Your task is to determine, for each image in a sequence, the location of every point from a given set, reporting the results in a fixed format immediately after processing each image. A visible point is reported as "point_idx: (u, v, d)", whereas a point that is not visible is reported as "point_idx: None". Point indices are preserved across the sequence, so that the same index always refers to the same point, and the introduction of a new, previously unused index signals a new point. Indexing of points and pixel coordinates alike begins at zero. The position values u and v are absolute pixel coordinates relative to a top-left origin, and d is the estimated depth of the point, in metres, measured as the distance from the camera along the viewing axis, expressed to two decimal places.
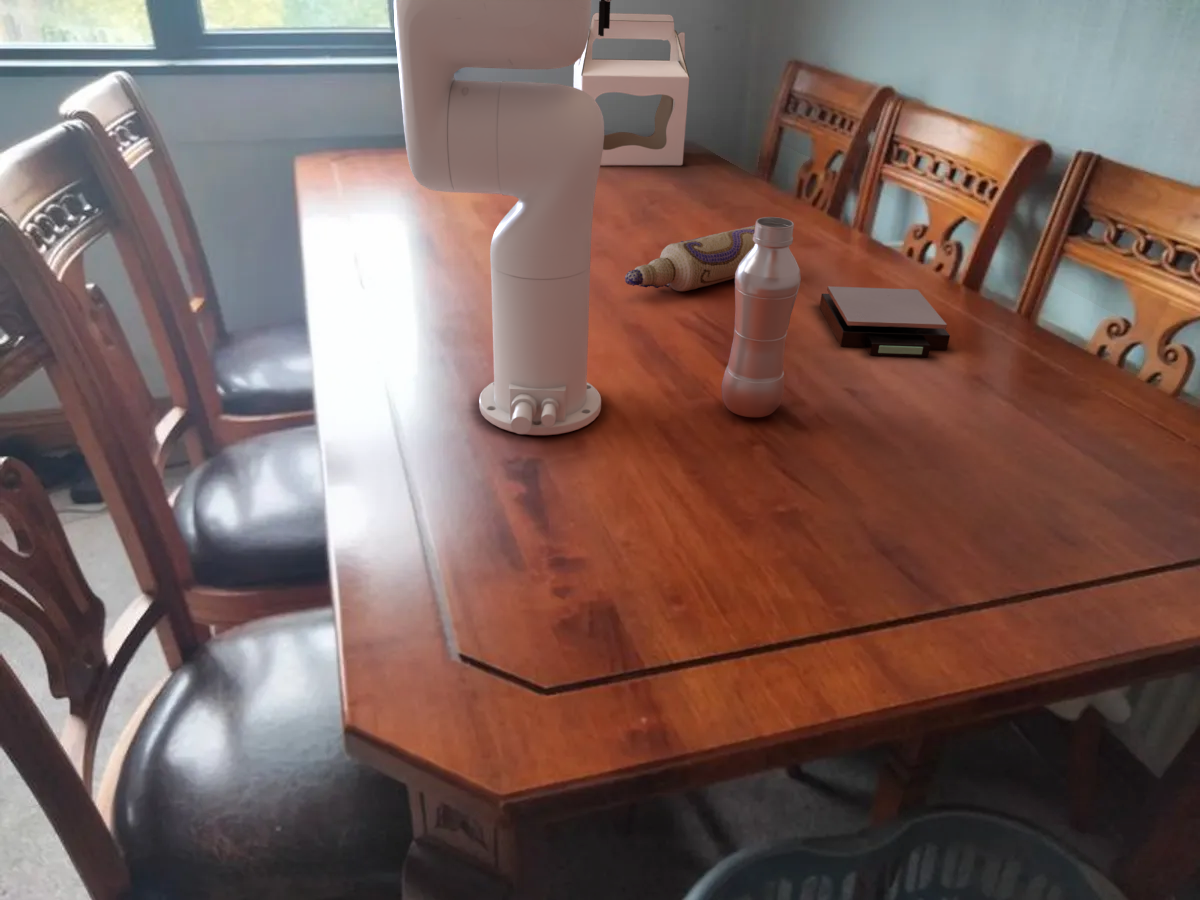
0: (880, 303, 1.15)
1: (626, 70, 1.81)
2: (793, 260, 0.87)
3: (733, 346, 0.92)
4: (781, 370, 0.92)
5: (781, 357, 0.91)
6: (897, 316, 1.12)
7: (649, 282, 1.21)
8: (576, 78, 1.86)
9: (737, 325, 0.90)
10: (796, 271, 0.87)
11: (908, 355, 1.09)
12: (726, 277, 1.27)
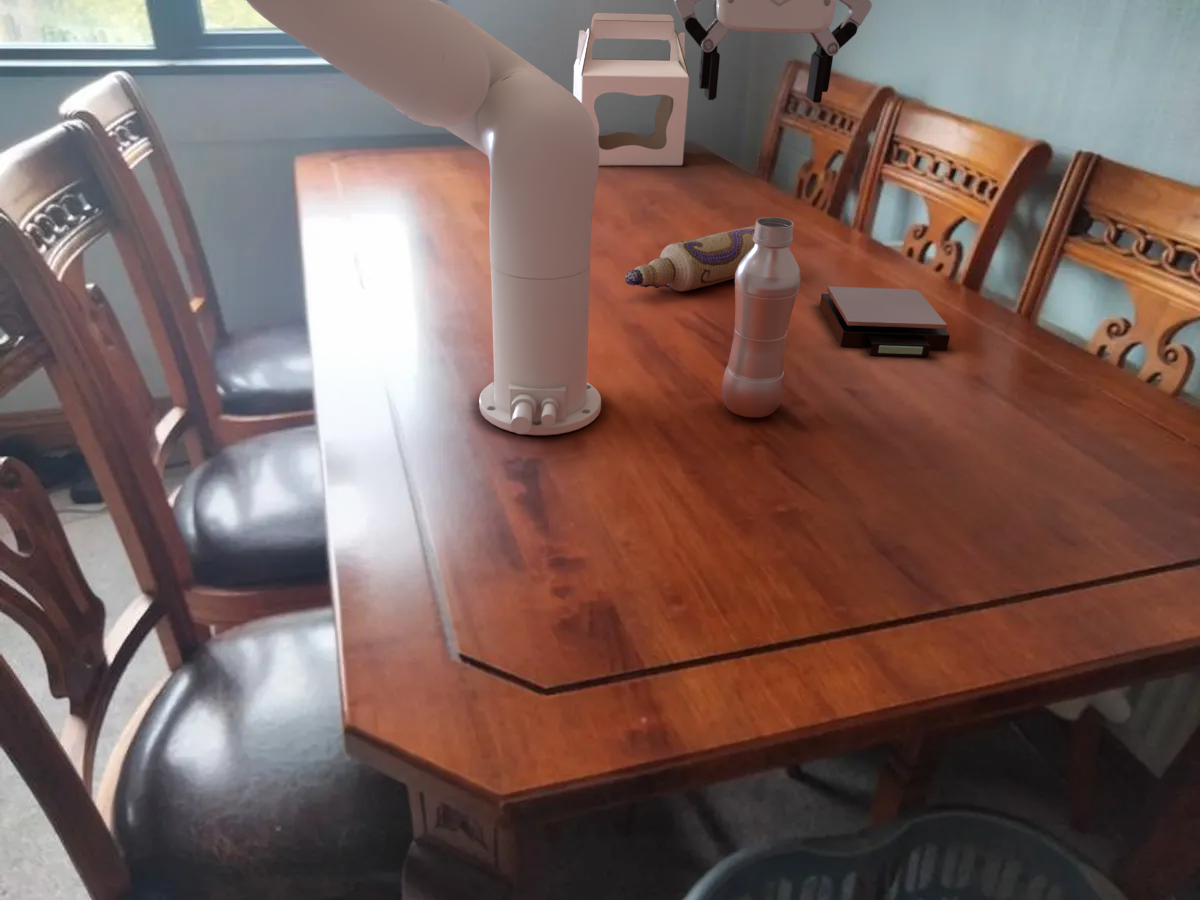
0: (880, 303, 1.15)
1: (626, 70, 1.81)
2: (793, 260, 0.87)
3: (733, 346, 0.92)
4: (781, 370, 0.92)
5: (781, 357, 0.91)
6: (897, 316, 1.12)
7: (649, 282, 1.21)
8: (576, 78, 1.86)
9: (737, 325, 0.90)
10: (796, 271, 0.87)
11: (908, 355, 1.09)
12: (726, 277, 1.27)
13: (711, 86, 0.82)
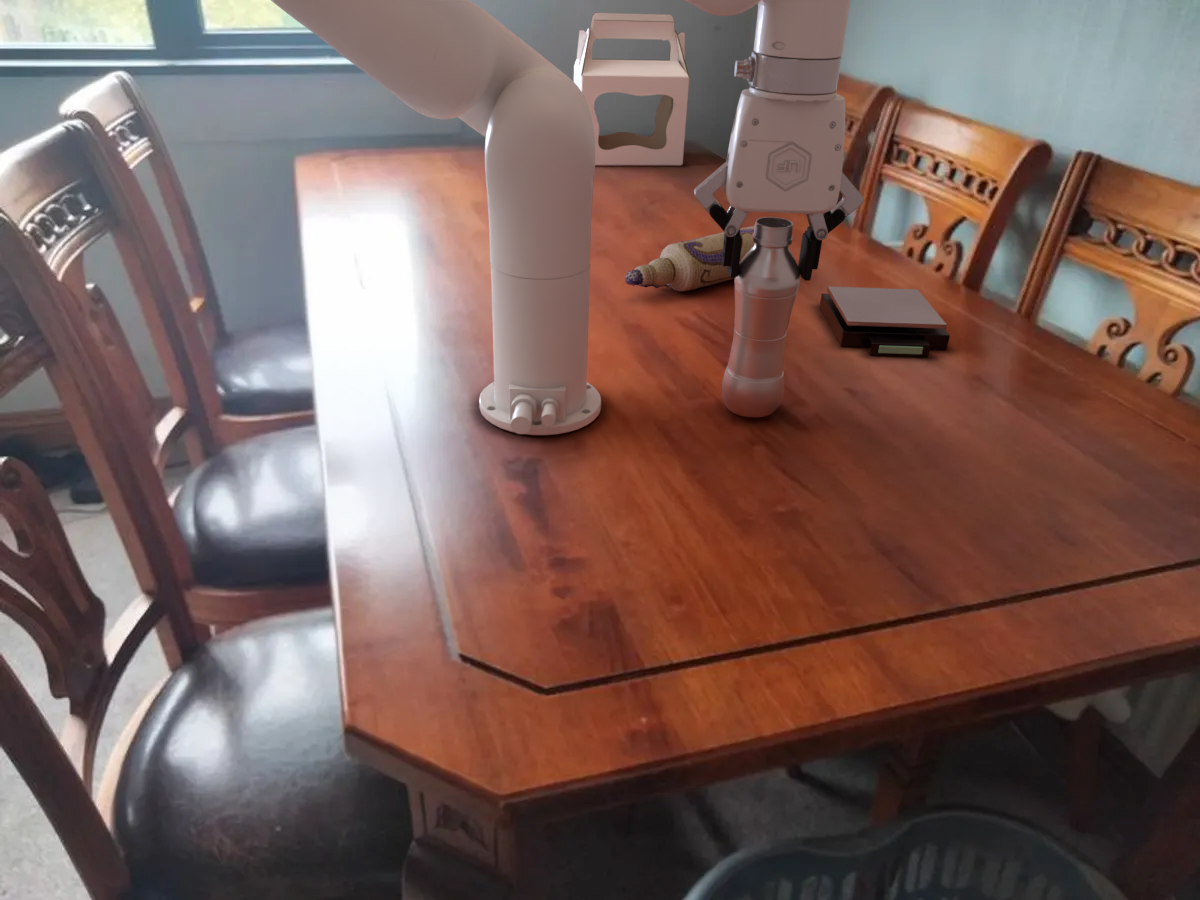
0: (880, 303, 1.15)
1: (626, 70, 1.81)
2: (792, 260, 0.86)
3: (733, 346, 0.92)
4: (781, 370, 0.92)
5: (781, 357, 0.91)
6: (897, 316, 1.12)
7: (649, 282, 1.21)
8: (576, 78, 1.86)
9: (737, 325, 0.90)
10: (795, 271, 0.87)
11: (908, 355, 1.09)
12: (726, 277, 1.27)
13: (733, 266, 0.86)
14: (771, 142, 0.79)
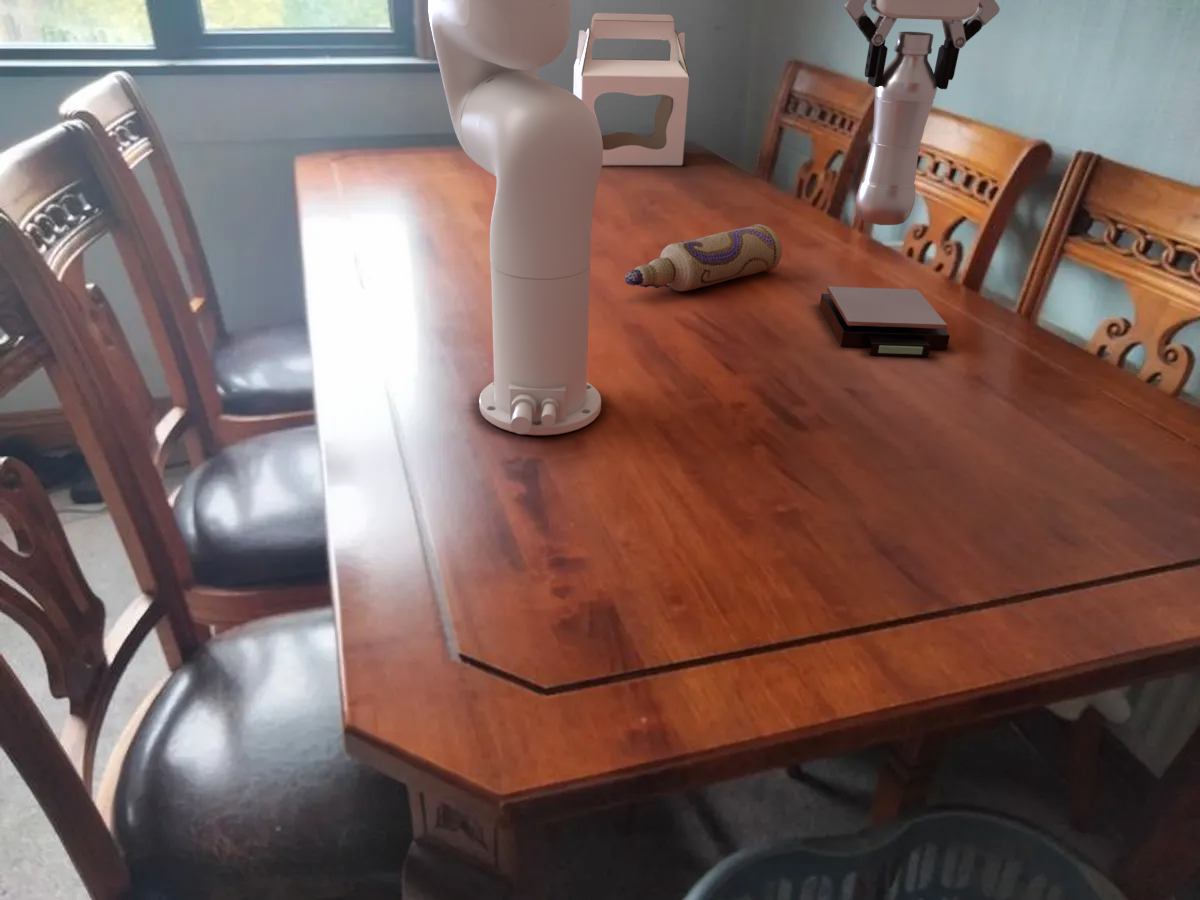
0: (880, 303, 1.15)
1: (626, 70, 1.81)
2: (931, 69, 0.95)
3: (870, 157, 1.01)
4: (914, 179, 1.01)
5: (915, 166, 1.00)
6: (897, 316, 1.12)
7: (649, 282, 1.21)
8: (576, 78, 1.86)
9: (876, 135, 0.99)
10: (934, 79, 0.96)
11: (908, 355, 1.09)
12: (726, 277, 1.27)
13: (878, 75, 0.95)
14: None
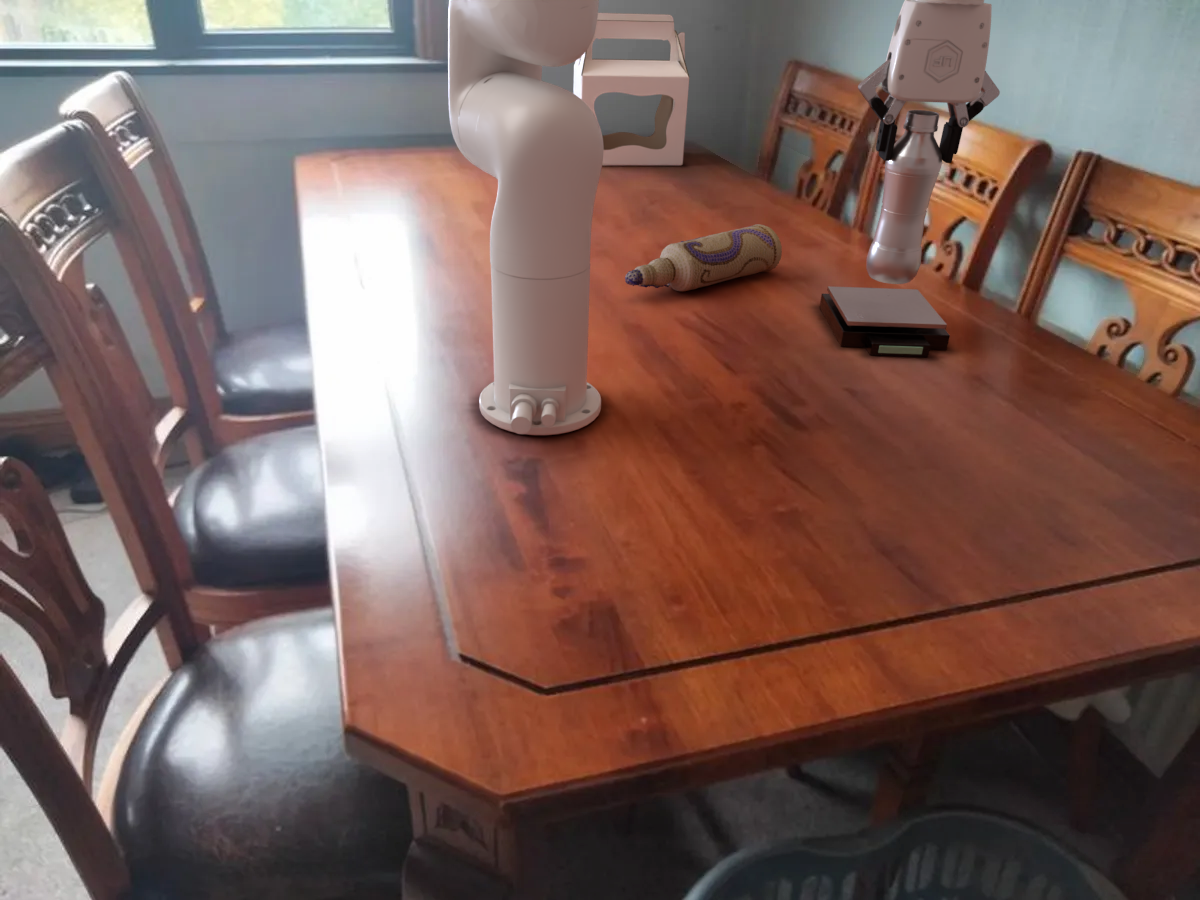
0: (880, 303, 1.15)
1: (626, 70, 1.81)
2: (937, 145, 1.04)
3: (880, 222, 1.09)
4: (920, 243, 1.09)
5: (921, 231, 1.09)
6: (897, 316, 1.12)
7: (649, 282, 1.21)
8: (576, 78, 1.86)
9: (886, 203, 1.08)
10: (940, 154, 1.04)
11: (908, 355, 1.09)
12: (726, 277, 1.27)
13: (888, 150, 1.04)
14: (930, 40, 0.97)
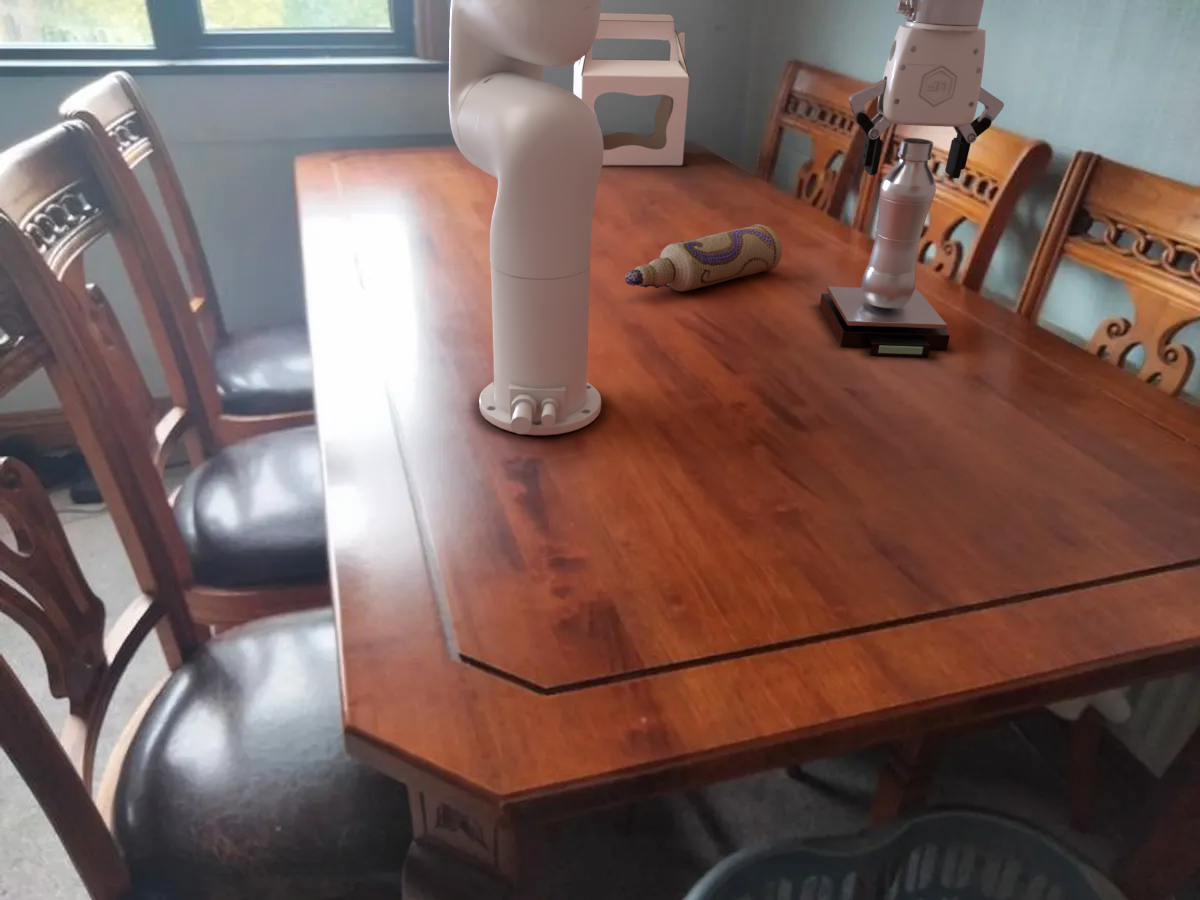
0: None
1: (626, 70, 1.81)
2: (931, 173, 1.06)
3: (875, 248, 1.11)
4: (914, 268, 1.11)
5: (915, 256, 1.10)
6: (897, 316, 1.12)
7: (649, 282, 1.21)
8: (576, 78, 1.86)
9: (880, 229, 1.09)
10: (933, 182, 1.06)
11: (908, 355, 1.09)
12: (726, 277, 1.27)
13: (874, 165, 1.05)
14: (925, 66, 0.98)
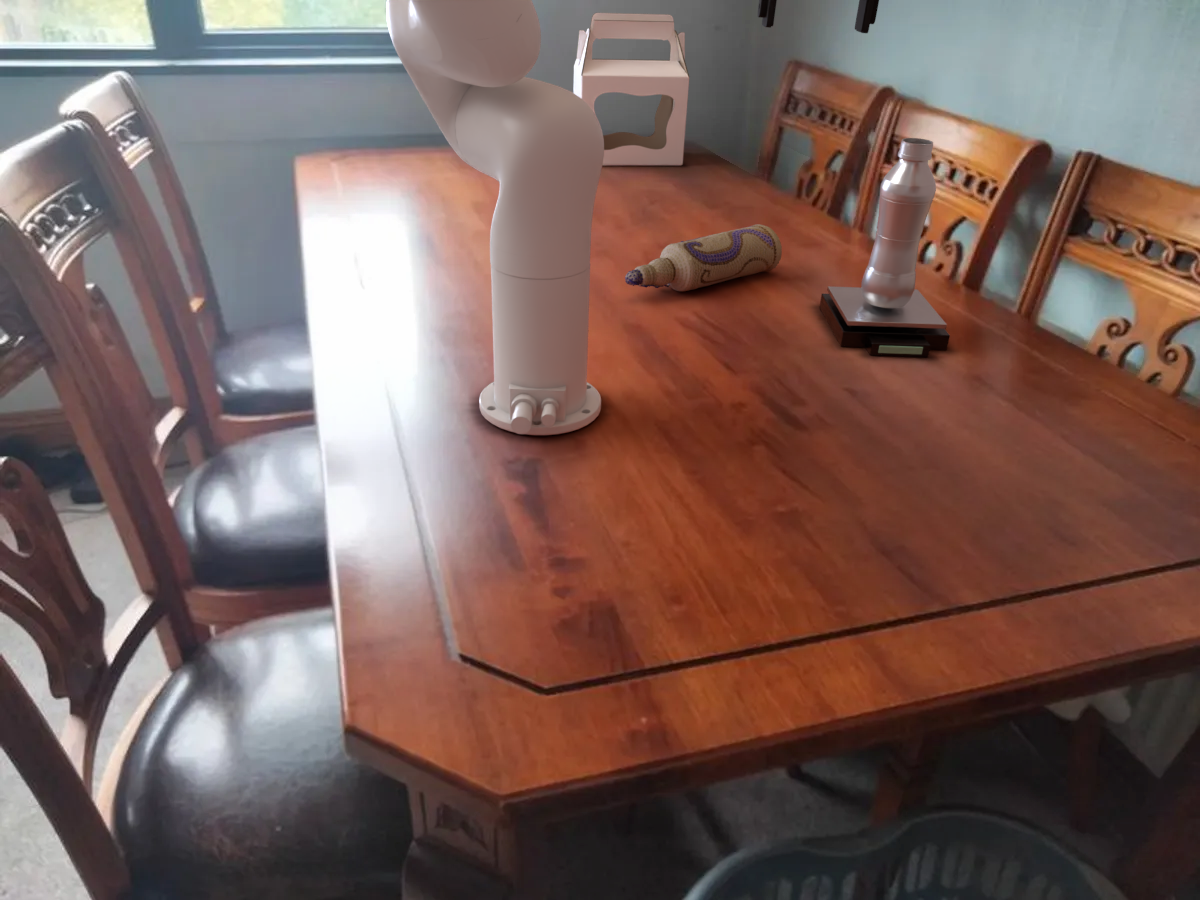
0: None
1: (626, 70, 1.81)
2: (931, 173, 1.06)
3: (875, 248, 1.11)
4: (914, 268, 1.11)
5: (915, 256, 1.10)
6: (897, 316, 1.12)
7: (649, 282, 1.21)
8: (576, 78, 1.86)
9: (880, 229, 1.09)
10: (933, 182, 1.06)
11: (908, 355, 1.09)
12: (726, 277, 1.27)
13: (769, 14, 0.91)
14: None
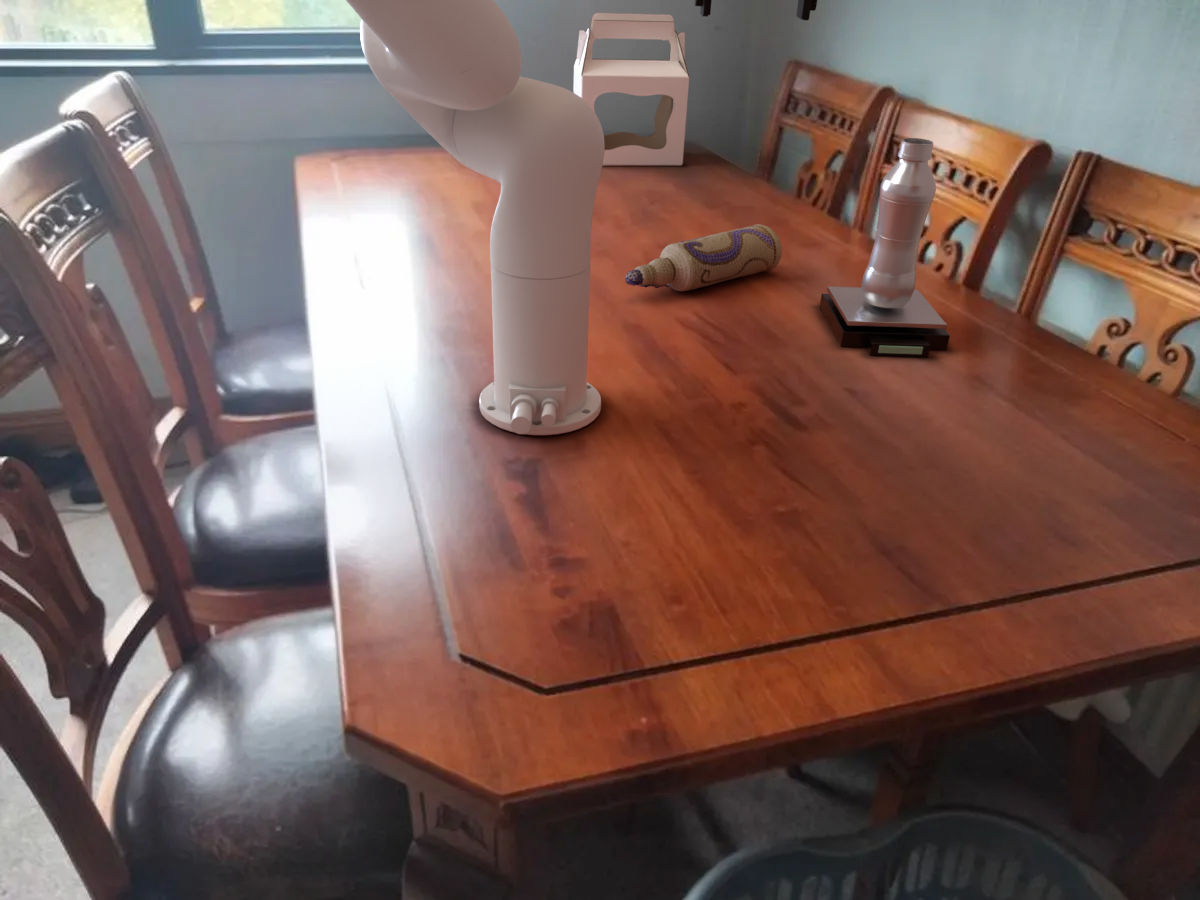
0: None
1: (626, 70, 1.81)
2: (931, 173, 1.06)
3: (875, 248, 1.11)
4: (914, 268, 1.11)
5: (915, 256, 1.10)
6: (897, 316, 1.12)
7: (649, 282, 1.21)
8: (576, 78, 1.86)
9: (881, 229, 1.09)
10: (933, 182, 1.06)
11: (908, 355, 1.09)
12: (726, 277, 1.27)
13: (705, 2, 0.87)
14: None
